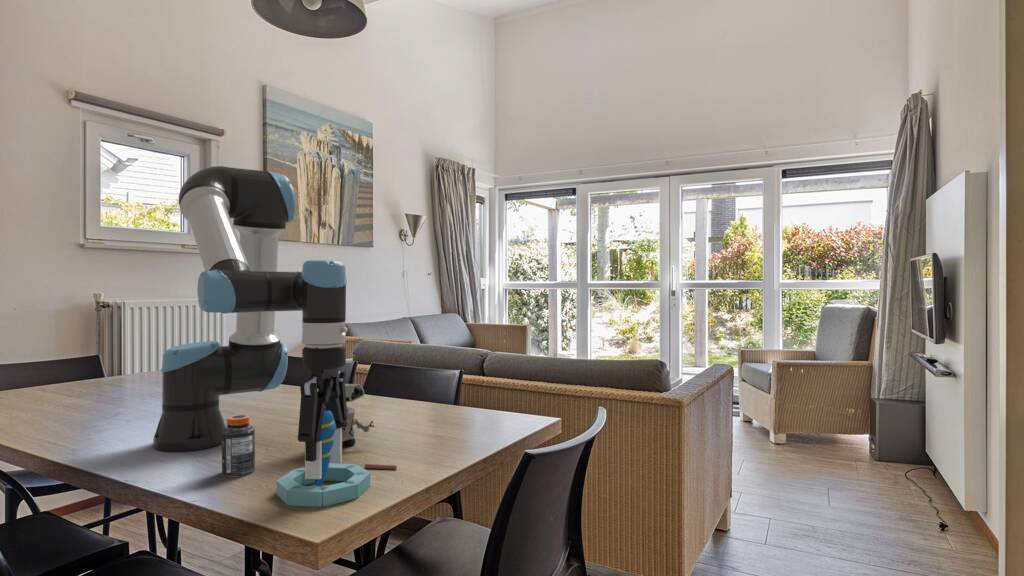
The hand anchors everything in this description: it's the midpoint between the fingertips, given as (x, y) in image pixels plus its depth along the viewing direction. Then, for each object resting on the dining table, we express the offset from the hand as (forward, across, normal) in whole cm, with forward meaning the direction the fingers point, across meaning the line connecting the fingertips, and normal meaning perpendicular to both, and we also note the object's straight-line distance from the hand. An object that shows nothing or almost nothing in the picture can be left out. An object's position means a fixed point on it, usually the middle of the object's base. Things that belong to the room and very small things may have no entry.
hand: (324, 469), depth 105 cm
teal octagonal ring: (+4, 0, 0) cm, 4 cm away
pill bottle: (+4, +7, +21) cm, 22 cm away
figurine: (+4, +25, +7) cm, 26 cm away
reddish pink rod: (+4, +13, -6) cm, 15 cm away
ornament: (+2, -3, 0) cm, 4 cm away
